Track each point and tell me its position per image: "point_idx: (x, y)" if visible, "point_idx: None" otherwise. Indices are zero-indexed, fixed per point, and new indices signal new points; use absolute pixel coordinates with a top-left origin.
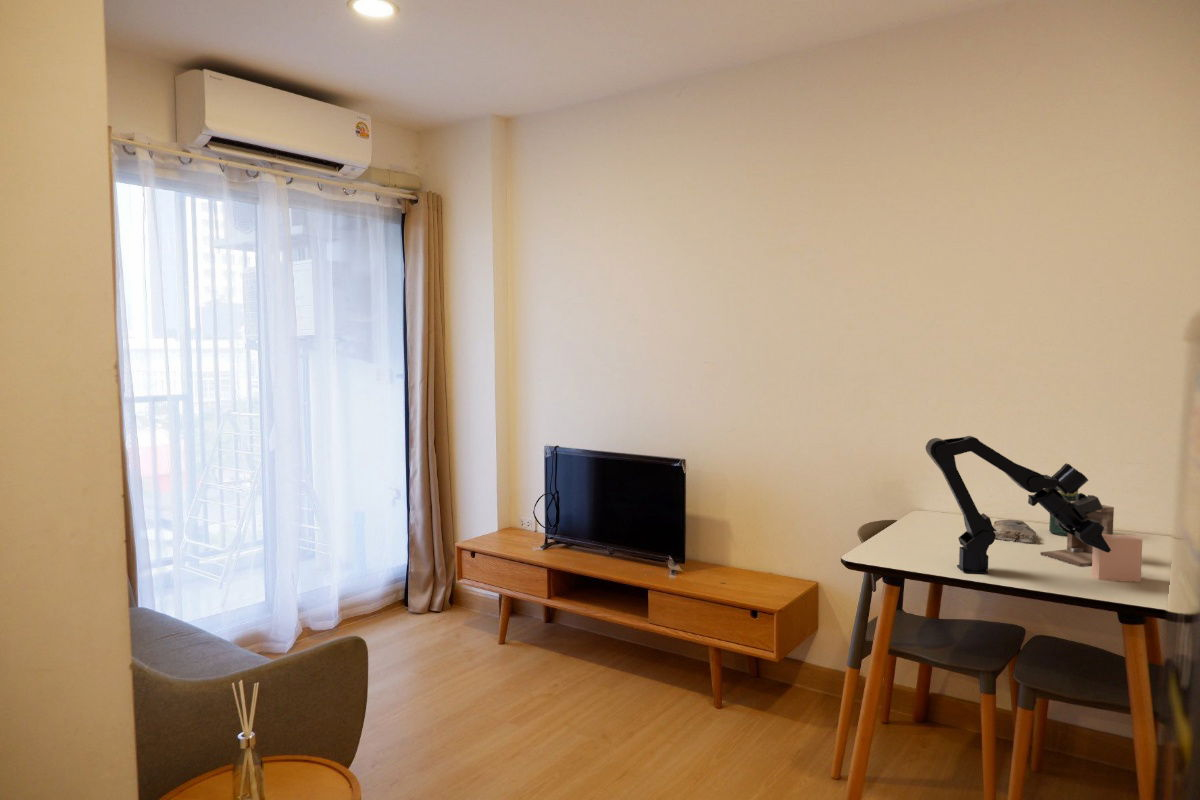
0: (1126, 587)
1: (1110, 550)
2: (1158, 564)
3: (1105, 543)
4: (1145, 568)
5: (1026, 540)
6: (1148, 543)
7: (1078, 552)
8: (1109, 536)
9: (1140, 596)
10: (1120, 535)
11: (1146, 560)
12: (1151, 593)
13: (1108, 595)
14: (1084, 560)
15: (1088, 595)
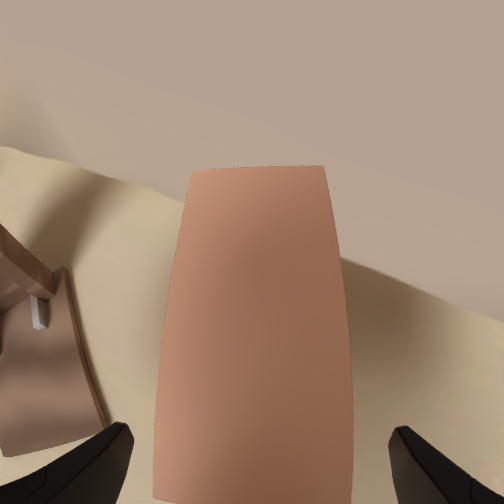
0: (395, 376)
1: (406, 429)
2: (103, 180)
3: (454, 471)
4: (130, 218)
5: None
6: (8, 165)
7: (2, 338)
8: (257, 392)
9: (478, 358)
10: (193, 260)
11: (72, 193)
12: (439, 315)
13: (489, 448)
14: (64, 380)
15: None
